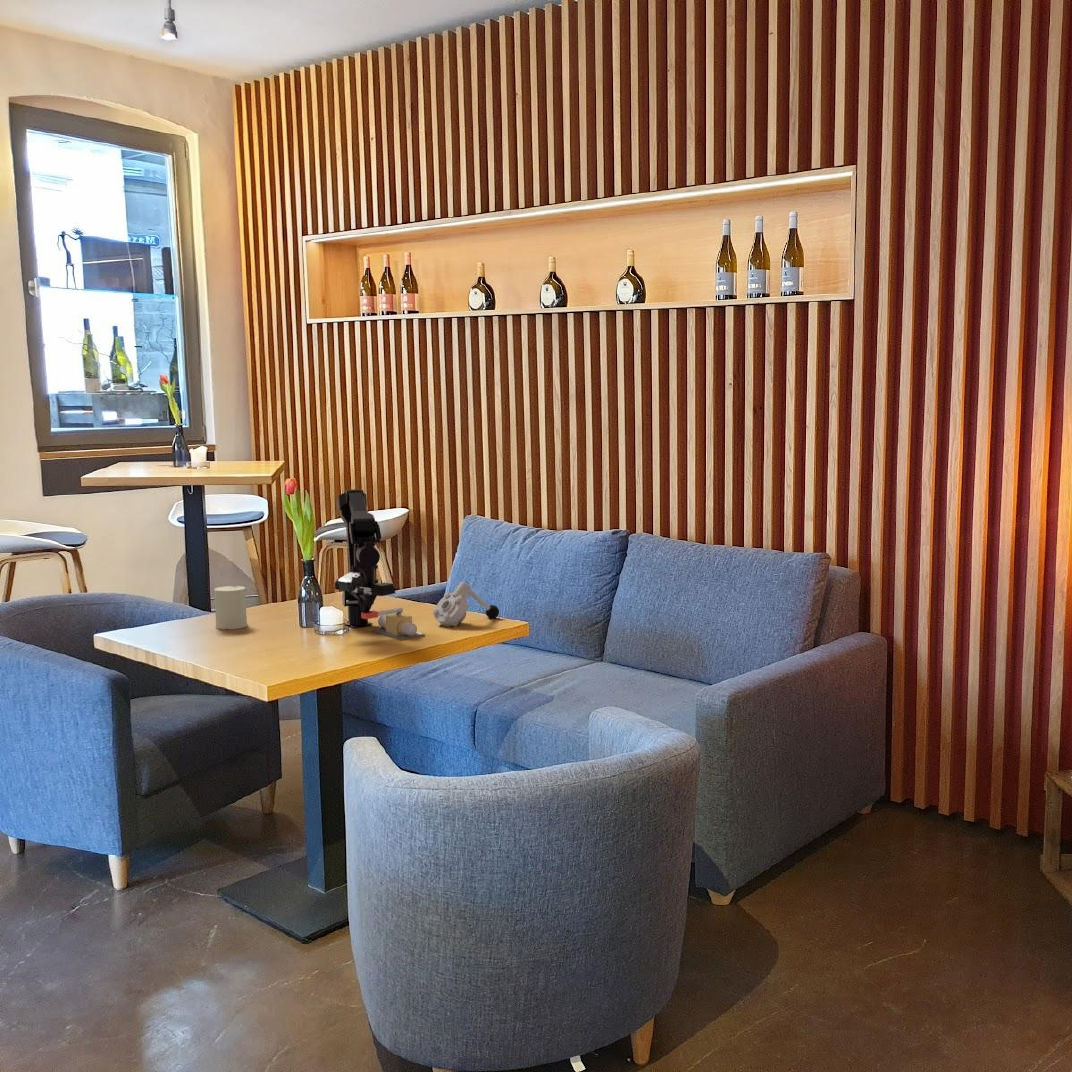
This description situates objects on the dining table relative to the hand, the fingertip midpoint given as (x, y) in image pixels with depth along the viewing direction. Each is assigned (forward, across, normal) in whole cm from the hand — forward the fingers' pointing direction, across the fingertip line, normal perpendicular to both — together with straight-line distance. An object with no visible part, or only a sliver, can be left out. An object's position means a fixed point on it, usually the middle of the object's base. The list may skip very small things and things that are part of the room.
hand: (365, 616), depth 318 cm
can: (+7, -45, -11) cm, 47 cm away
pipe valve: (+6, +5, +9) cm, 12 cm away
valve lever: (0, +3, +4) cm, 5 cm away
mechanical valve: (+6, +10, +33) cm, 35 cm away
